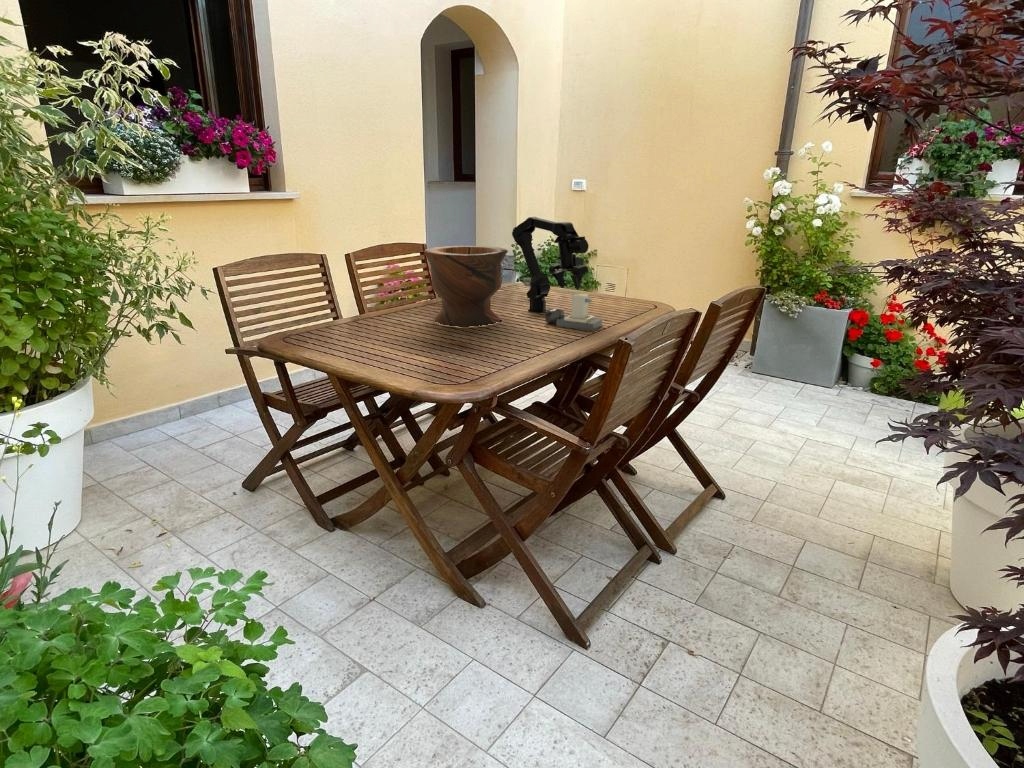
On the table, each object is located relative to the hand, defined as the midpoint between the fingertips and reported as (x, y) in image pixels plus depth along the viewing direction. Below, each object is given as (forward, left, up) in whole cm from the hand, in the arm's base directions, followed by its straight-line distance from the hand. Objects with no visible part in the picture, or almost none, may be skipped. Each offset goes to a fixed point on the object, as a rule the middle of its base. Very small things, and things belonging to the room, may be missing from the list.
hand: (570, 288), depth 264 cm
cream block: (+11, -16, -9) cm, 21 cm away
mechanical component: (-32, +27, -12) cm, 44 cm away
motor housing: (+8, -16, -12) cm, 21 cm away
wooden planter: (-35, -29, -12) cm, 47 cm away
